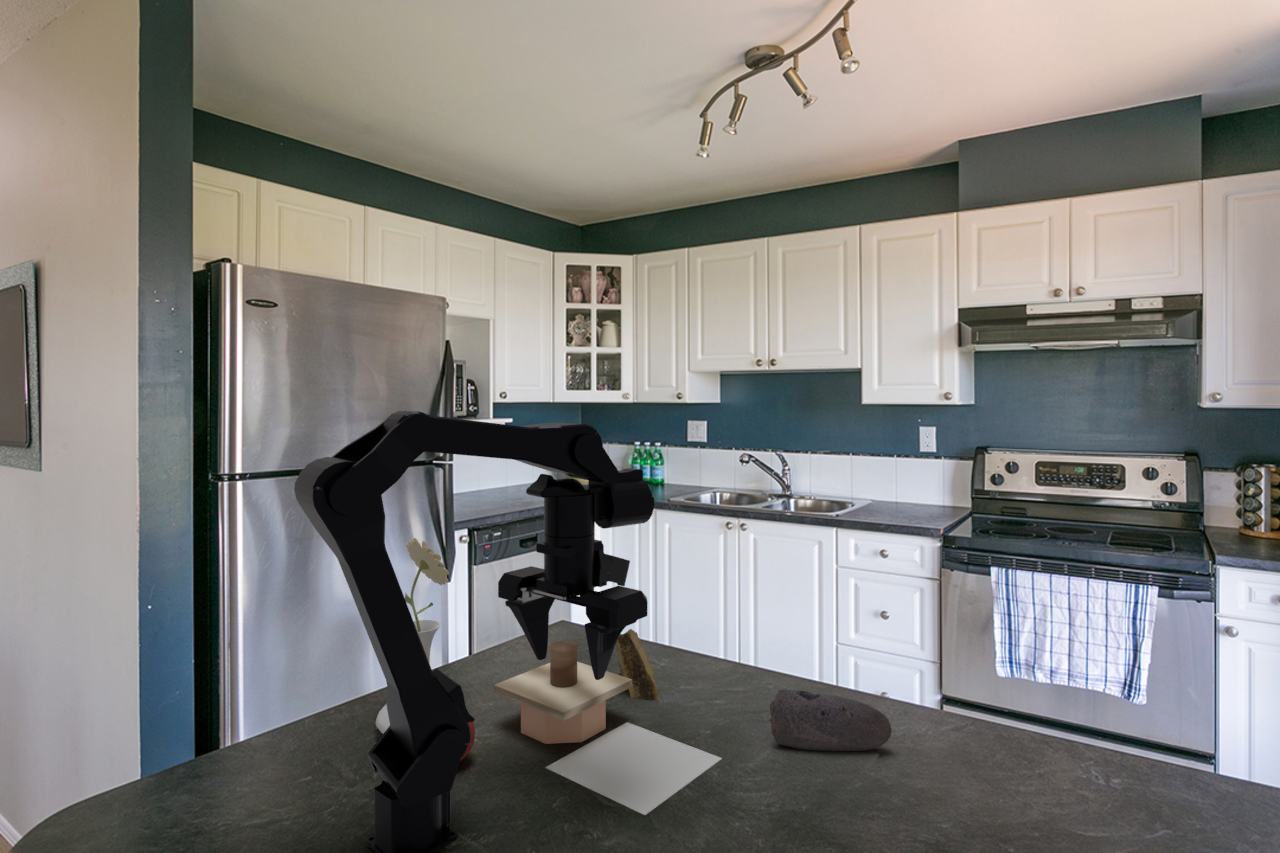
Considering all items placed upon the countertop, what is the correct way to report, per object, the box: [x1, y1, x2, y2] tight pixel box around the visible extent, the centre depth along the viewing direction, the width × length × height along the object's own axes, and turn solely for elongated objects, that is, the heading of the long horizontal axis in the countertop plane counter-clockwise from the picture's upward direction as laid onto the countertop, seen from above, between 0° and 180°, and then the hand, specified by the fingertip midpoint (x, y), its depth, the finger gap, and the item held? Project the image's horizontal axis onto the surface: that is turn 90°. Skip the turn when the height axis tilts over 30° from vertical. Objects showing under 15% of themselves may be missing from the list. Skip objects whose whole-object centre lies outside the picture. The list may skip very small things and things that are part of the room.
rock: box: [615, 628, 660, 701], centre depth 107 cm, size 11×9×10 cm
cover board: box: [493, 640, 632, 721], centre depth 94 cm, size 13×13×6 cm
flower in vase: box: [375, 537, 450, 735], centre depth 94 cm, size 13×11×25 cm
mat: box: [544, 721, 723, 816], centre depth 84 cm, size 15×15×1 cm
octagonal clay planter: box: [520, 700, 607, 745], centre depth 94 cm, size 11×11×5 cm
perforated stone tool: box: [769, 689, 892, 752], centre depth 89 cm, size 15×5×7 cm, turn 81°
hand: (569, 668), depth 81 cm, fingers open, 9 cm apart
